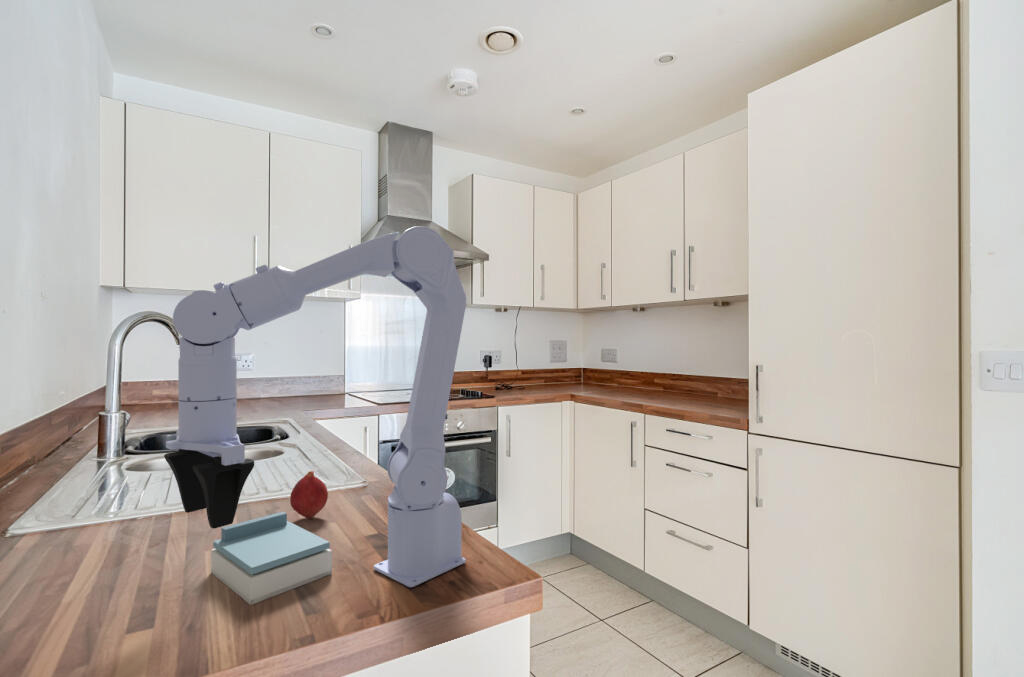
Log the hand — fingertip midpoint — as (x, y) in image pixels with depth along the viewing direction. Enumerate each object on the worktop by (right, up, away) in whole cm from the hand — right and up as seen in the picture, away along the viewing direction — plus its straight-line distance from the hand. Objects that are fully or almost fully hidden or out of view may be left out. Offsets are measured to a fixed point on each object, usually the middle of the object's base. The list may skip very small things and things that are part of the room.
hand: (208, 517), depth 58 cm
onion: (+1, -10, +27) cm, 29 cm away
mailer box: (+4, -10, +7) cm, 13 cm away
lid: (+4, -6, +7) cm, 10 cm away
